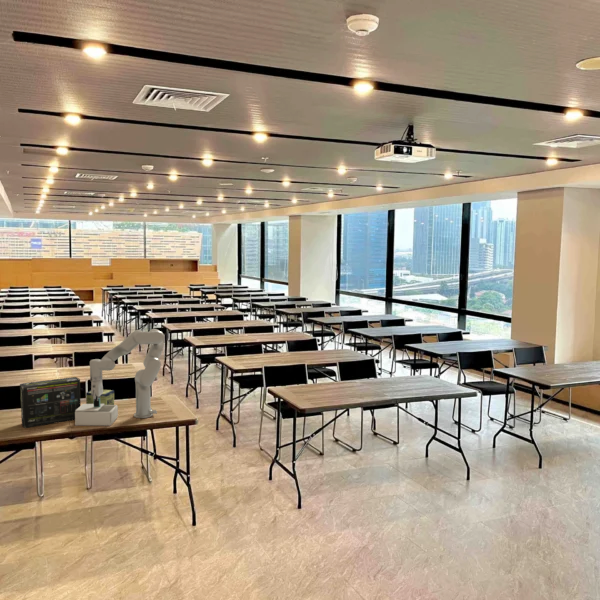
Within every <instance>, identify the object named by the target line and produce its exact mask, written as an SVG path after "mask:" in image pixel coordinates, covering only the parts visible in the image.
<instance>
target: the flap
mask: <svg viewBox="0 0 600 600" xmlns="http://www.w3.org/2000/svg"><path fill="white" fill-rule="evenodd" d="M98 399H99V407H94V404H86V403H82V404H81V406H80V407H79V408H78V409H76V410H75V411H98V410H99V409H100V408H101V407H102V406H103V405H104V404H100V398H98ZM93 401H94V399H93Z"/></svg>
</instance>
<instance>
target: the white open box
mask: <svg viewBox="0 0 600 600" xmlns="http://www.w3.org/2000/svg"><path fill="white" fill-rule="evenodd" d="M118 416H119V405H117V404H114V405H103V406H102V407H101V408H100V409H99V410H98V411H76V412H75V420H74V421H75V422H74V425H75V427H77V426H78V427H79V426H83V427H85V426H86V427H88V426H89V427H110V426H112V424H114V422H116V420H117V419H118Z"/></svg>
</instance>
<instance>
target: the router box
mask: <svg viewBox="0 0 600 600" xmlns="http://www.w3.org/2000/svg"><path fill="white" fill-rule="evenodd" d="M19 390H20V412H21V413H20V415H21V426H22V427H23V428H24V429H29V428H33V427H34V428H35V427H40V426H47V425H52V424H58V423H59V424H60V423H65V422H70V421H75V412H76V411H75V410H76V409H78V408H79V407H80V406H81V405H82V404H81V379H80V378H79V377H77V376H71V377H65V378H63V377H62V378H57V379H48V380H40V381H38V380H37V381H31V382H30V381H29V382H24V383H19Z"/></svg>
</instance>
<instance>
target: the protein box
mask: <svg viewBox="0 0 600 600" xmlns="http://www.w3.org/2000/svg"><path fill="white" fill-rule="evenodd" d="M85 394H86V395H85V397H86V398H85V404H94V401H93V397H92V396H91V390H89V391H87V392H85ZM100 404H104V405H115V390H114V389H112V390H111V389H103V394H101V395H100Z"/></svg>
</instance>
